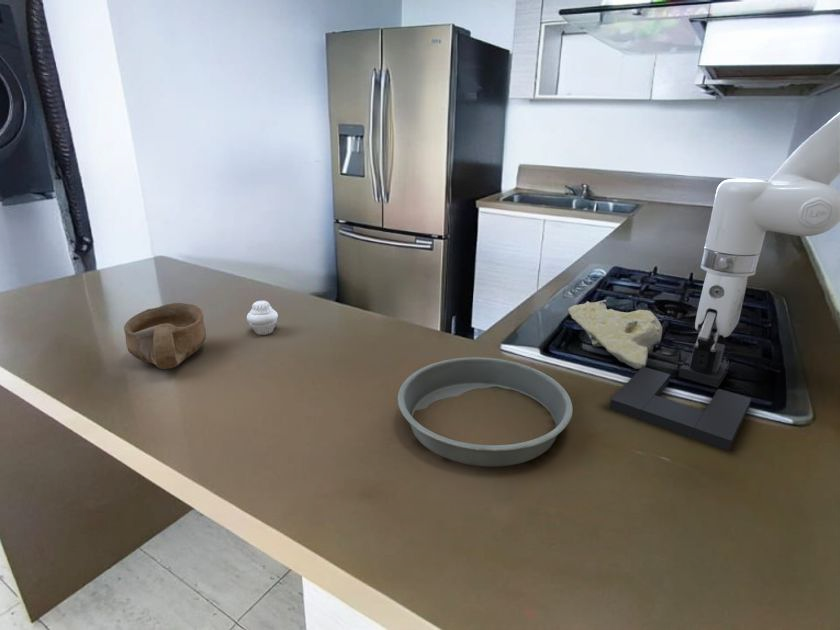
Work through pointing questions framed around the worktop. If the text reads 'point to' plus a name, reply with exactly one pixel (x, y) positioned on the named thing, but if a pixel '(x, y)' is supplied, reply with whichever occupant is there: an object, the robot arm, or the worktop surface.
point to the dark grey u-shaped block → (682, 409)
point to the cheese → (619, 331)
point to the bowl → (165, 334)
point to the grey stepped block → (704, 378)
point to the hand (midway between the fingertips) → (705, 363)
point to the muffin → (262, 318)
